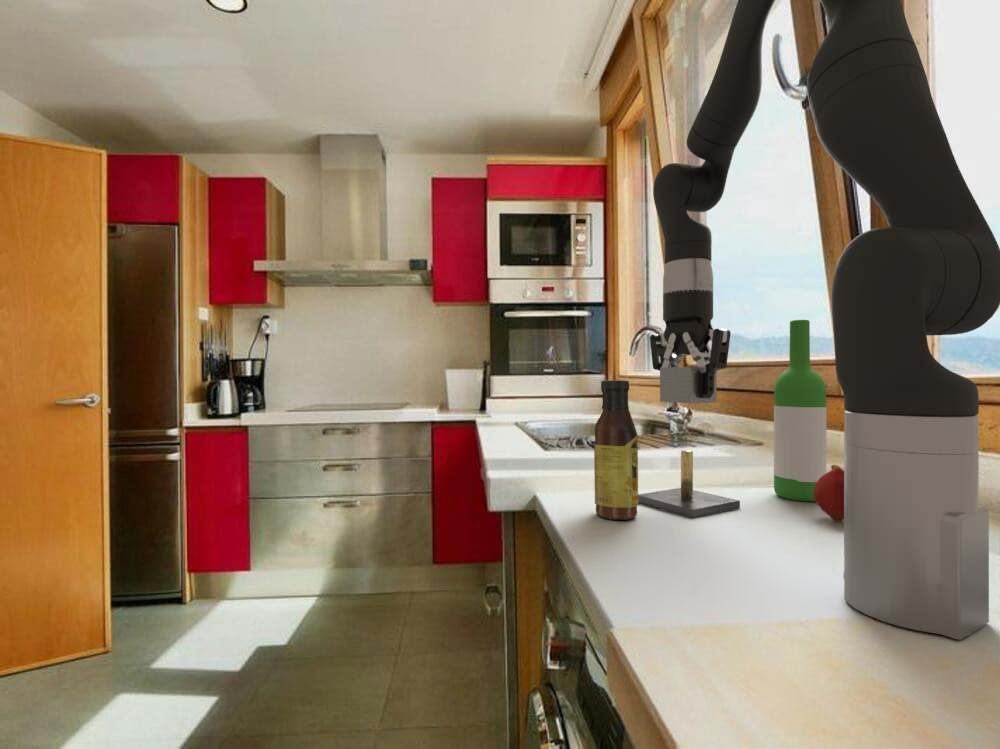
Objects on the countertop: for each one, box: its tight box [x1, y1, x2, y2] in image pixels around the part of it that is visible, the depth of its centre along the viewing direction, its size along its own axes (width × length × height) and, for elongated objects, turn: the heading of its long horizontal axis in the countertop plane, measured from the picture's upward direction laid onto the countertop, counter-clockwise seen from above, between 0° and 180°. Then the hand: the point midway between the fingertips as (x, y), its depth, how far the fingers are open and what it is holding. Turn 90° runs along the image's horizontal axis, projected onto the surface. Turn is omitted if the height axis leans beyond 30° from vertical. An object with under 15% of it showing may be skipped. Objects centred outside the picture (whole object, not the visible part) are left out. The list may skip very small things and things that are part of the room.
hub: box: [638, 449, 741, 519], centre depth 83 cm, size 11×11×9 cm
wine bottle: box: [773, 319, 827, 502], centre depth 88 cm, size 8×8×30 cm
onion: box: [813, 464, 844, 523], centre depth 74 cm, size 6×6×8 cm
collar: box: [659, 366, 718, 404], centre depth 83 cm, size 6×6×6 cm
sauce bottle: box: [593, 379, 639, 521], centre depth 76 cm, size 7×6×20 cm
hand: (687, 396), depth 83 cm, fingers closed on collar, 6 cm apart
